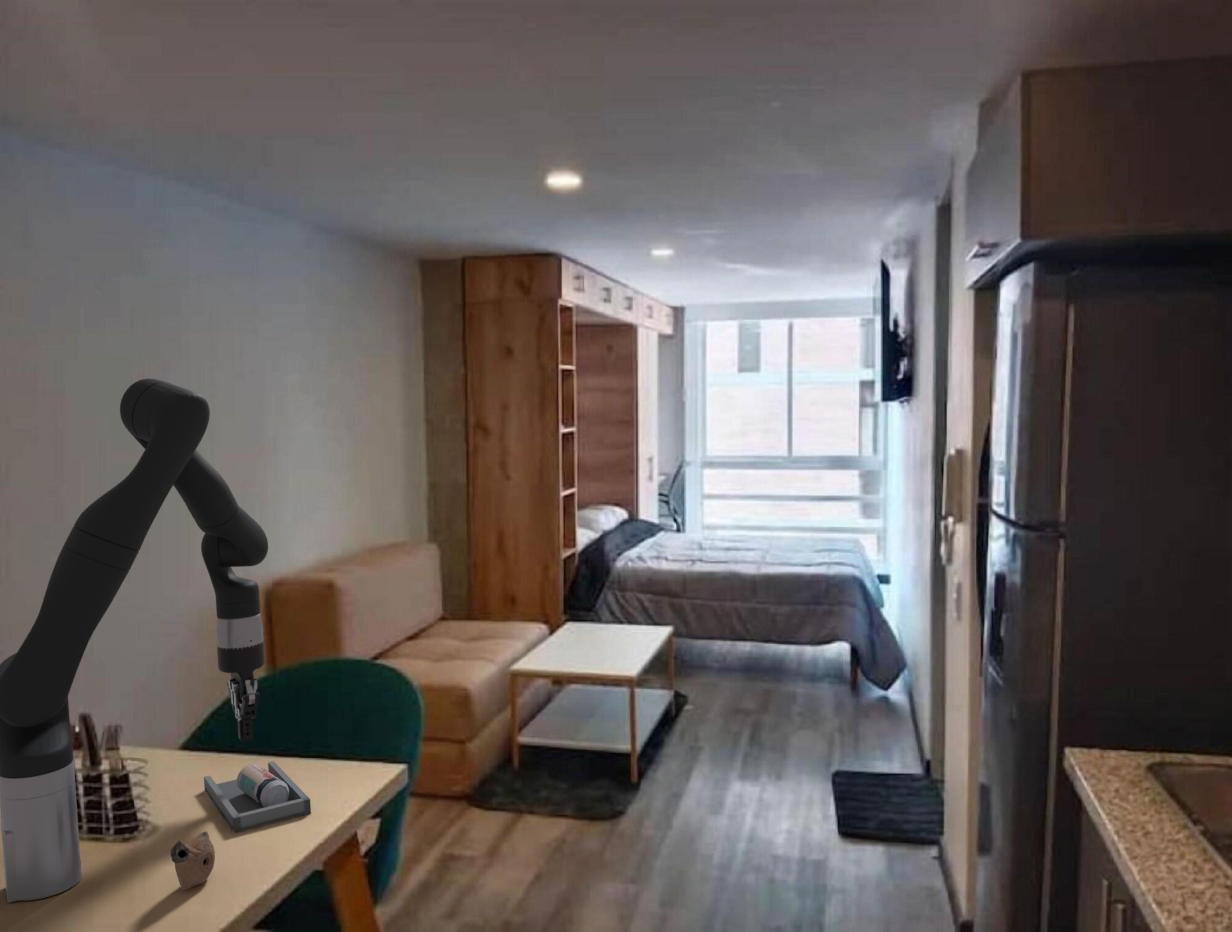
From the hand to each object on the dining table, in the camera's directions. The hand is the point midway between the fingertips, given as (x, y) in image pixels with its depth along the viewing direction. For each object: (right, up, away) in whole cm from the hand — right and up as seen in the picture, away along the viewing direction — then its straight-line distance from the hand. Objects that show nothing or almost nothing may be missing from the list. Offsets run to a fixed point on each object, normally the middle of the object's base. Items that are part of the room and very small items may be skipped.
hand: (246, 739), depth 170 cm
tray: (+3, -10, -3) cm, 11 cm away
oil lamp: (+5, -12, -33) cm, 35 cm away
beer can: (0, -7, 0) cm, 7 cm away
